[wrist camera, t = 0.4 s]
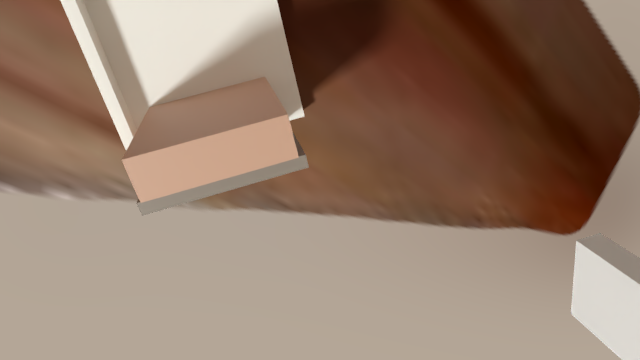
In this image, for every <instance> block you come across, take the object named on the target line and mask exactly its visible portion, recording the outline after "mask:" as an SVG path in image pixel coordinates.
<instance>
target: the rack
mask: <svg viewBox="0 0 640 360" xmlns="http://www.w3.org/2000/svg"><path fill="white" fill-rule="evenodd" d="M61 3H62V5H63V7H64V10H65V12H66V14H67V16H68V19H69V21H70V23H71V26H72V28H73V30H74V33H75V35H76V37H77V39H78V42H79V44H80V46H81V49H82V51H83V53H84V55H85V58H86V60H87V62H88V65H89V67H90V69H91V71H92V74H93V76H94V78H95V81H96V83H97V85H98V87H99V90H100V92H101V94H102V97H103V99H104V101H105V103H106V106H107V108H108V110H109V113H110V115H111V117H112V119H113V122H114V124H115V126H116V129H117V131H118V133H119V135H120V138H121V140H122V142H123V145H124V147H125V149H126V152H125V154H124V156H123V158H122V162H123V164H124V167H125V169H126V171H127V173H128V176H129V178H130V180H131V182H132V184H133V187H134V189H135V191H136V193H137V196H138V201H137V205H138V207H139V209H140V212H141V214H142V215H146V214H150V213H153V212H156V211H160V210H163V209H167V208H170V207H174V206H177V205H181V204H184V203H187V202H191V201H194V200H198V199H201V198H205V197H208V196H212V195H215V194H218V193H222V192H225V191H229V190H232V189H236V188H239V187H242V186H246V185H249V184H253V183H256V182H260V181H263V180H267V179H270V178H273V177H277V176H280V175H284V174H287V173H291V172H294V171H298V170H301V169H304V168H308V162H307V158H306V155H305V153H304V151H303V149H302V148H301V146H300V144H299V142H298V141H297V139H296V137H295V135H294V134H293V132H292V128H291V125H290V120H293V119H297V118H300V117H304V112H303V108H302V104H301V100H300V95H299V91H298V87H297V83H296V78H295V74H294V70H293V66H292V62H291V57H290V53H289V49H288V45H287V41H286V36H285V32H284V28H283V24H282V19H281V15H280V11H279V7H278V3H277V0H61Z"/></svg>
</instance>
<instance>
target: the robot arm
mask: <svg viewBox="0 0 640 360" xmlns="http://www.w3.org/2000/svg"><path fill="white" fill-rule="evenodd" d="M571 314H572V315H573V316H574V317H575V318H576V319H577V320H579V321H580V322H581V323H582V324H583V325H584V326H585V327H586V328H587V329H589V330H590V331H591V332H592V333H593V334H594V335H595V336H596V337H597V338H599V339H600V340H601V341H602V342H603V343H604V344H605V345H606V346H607V347H608V348H609V349H611V350H612V351H613V352H614V353H615V354H616V355H617V356H618V357H619V358H620V359H622V360H640V258H639V257H637V256H636V255H634V254H633V253H631V252H629V251H628V250H626V249H625V248H623V247H621V246H620V245H618V244H617V243H615V242H614V241H612V240H610V239H609V238H607V237H605V236H604V235H602V234H601V233H599V234H596V235H593V236H589V237H586V238H583V239H580V240H577V241H576V252H575V267H574V279H573V292H572V307H571Z"/></svg>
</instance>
